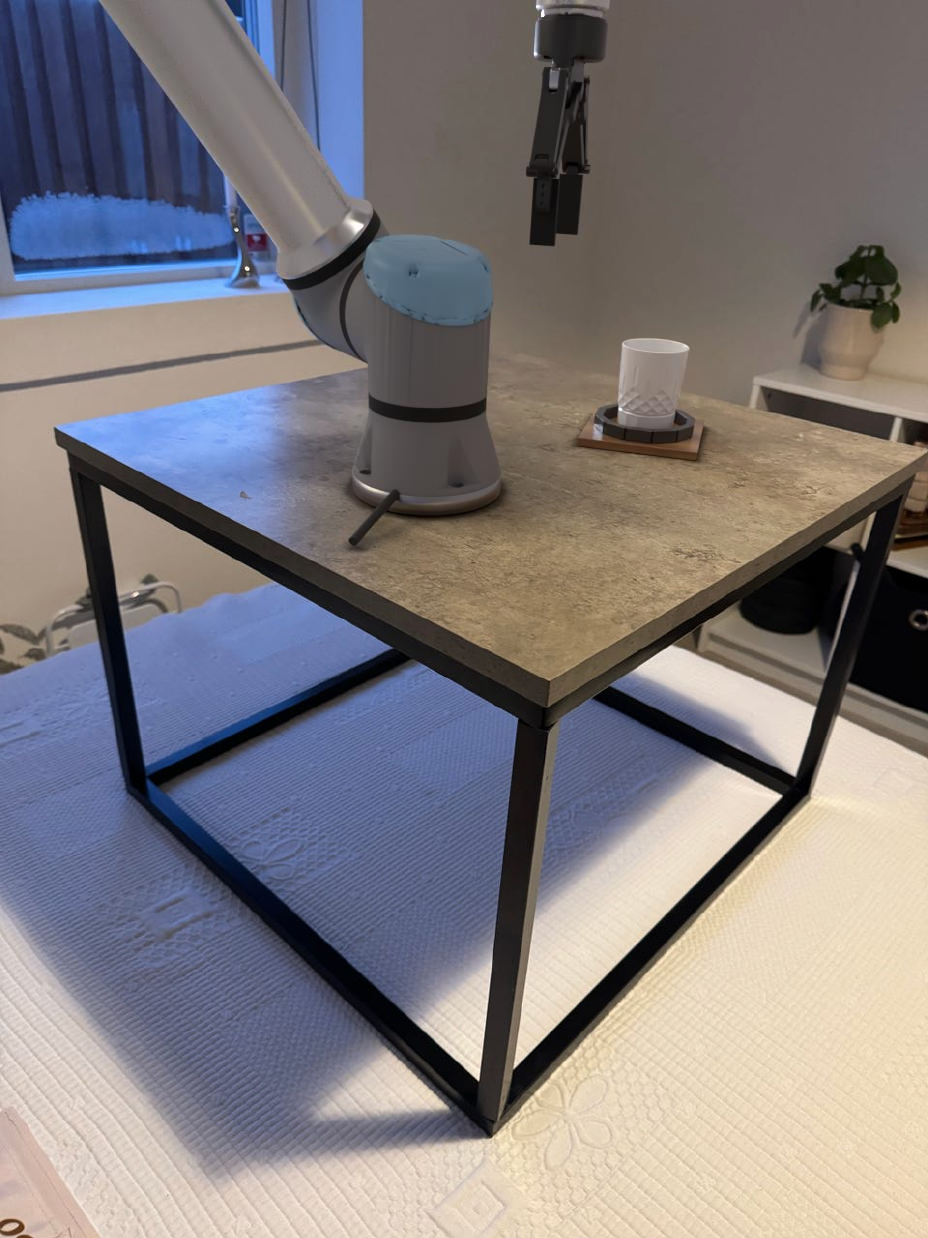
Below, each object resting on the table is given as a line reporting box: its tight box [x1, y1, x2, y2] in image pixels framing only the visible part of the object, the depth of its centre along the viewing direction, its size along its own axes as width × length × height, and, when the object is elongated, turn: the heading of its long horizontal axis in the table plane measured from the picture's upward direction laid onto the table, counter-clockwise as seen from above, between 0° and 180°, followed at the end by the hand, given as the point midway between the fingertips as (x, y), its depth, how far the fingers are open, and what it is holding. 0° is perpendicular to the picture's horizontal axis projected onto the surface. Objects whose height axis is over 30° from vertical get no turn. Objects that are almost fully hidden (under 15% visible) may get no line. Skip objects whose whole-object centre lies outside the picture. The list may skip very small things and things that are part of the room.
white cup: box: [617, 337, 691, 429], centre depth 104 cm, size 8×8×10 cm
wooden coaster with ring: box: [576, 402, 705, 461], centre depth 106 cm, size 14×14×2 cm
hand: (554, 239), depth 99 cm, fingers open, 13 cm apart
